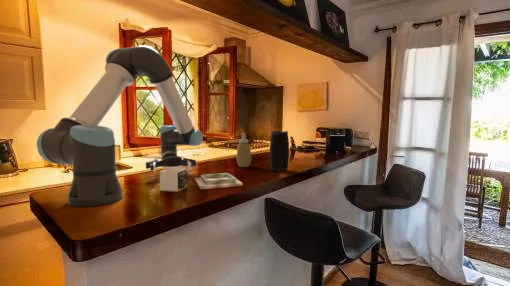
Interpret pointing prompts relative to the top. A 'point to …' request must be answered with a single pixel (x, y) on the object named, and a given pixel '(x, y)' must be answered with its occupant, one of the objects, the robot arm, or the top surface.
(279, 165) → the portable speaker
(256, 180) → the top surface
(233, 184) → the collar tray
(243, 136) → the squeeze bottle
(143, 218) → the top surface
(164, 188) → the medicine bottle
